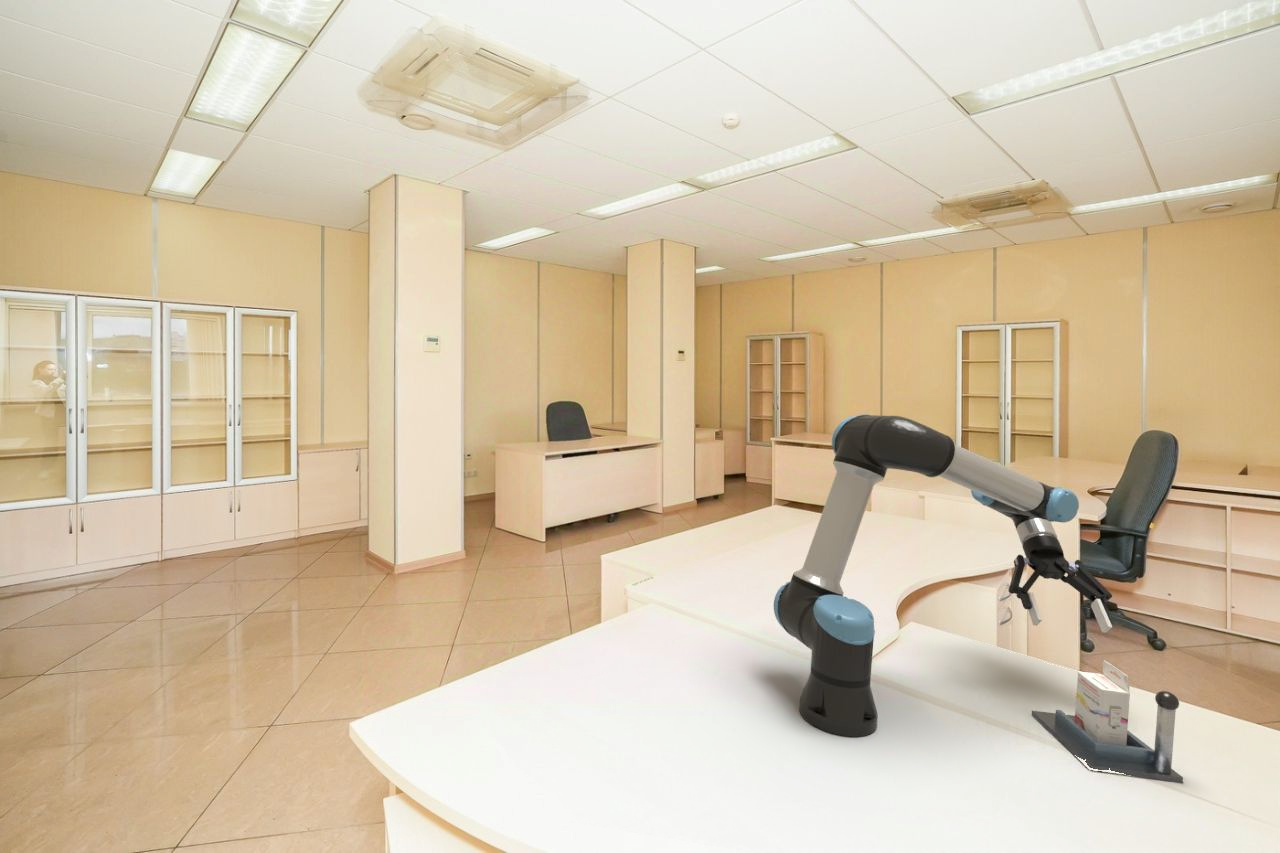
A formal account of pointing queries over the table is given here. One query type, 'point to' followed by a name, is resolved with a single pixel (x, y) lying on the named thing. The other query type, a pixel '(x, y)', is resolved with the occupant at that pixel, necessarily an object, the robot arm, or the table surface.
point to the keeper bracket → (1120, 757)
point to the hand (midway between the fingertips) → (1072, 626)
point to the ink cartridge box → (1103, 705)
